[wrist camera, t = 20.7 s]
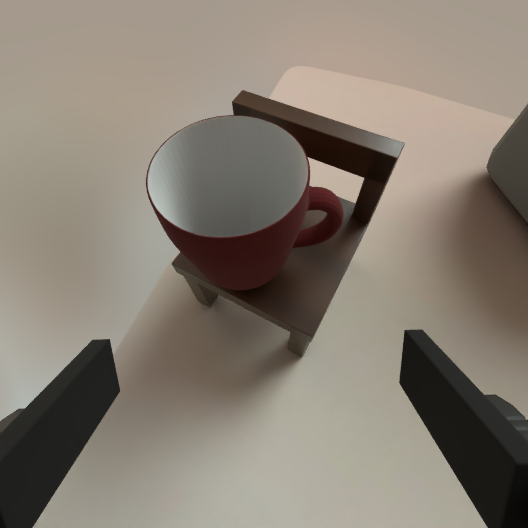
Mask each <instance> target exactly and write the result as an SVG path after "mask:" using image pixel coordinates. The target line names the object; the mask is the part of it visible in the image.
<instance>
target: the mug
mask: <svg viewBox="0 0 528 528" xmlns="http://www.w3.org/2000/svg"><path fill="white" fill-rule="evenodd" d="M309 182H310V166H309V161H308V158H307V155H306V153H305V150H304V149H303V147H302V146H301V144H300V143H299V142H298V140H297V139H296V138H295V137H294V136H293V135H292V134H290V133H289V132H288V131H286V130H285V129H284V128H282V127H280V126H278V125H276V124H274V123H272V122H269V121H267V120H264V119H260V118H256V117H250V116H241V115H228V116H218V117H213V118H208V119H205V120H201V121H199V122H196V123H193V124H191V125H189V126H187V127H185V128H183V129H181V130H180V131H178V132H177V133H175V134H174V135H172V136H171V137H170V138H169V139H167V140H166V141H165V142H164V143H163V144H162V145H161V147H160V148H159V149H158V150H157V152H156V153H155V155H154V156H153V158H152V160H151V162H150V165H149V168H148V171H147V177H146V187H147V193H148V197H149V200H150V202H151V204H152V206H153V209H154V211H155V213H156V215H157V217H158V219H159V221H160V223H161V225H162V227H163V228H164V230H165V232H166V233H167V235H168V237H169V238H170V240H171V241H172V242H173V244H174V245H175V246H176V247H177V248H178V249H179V251H180V252H181V253H182V254H183V255H184V256H185V257H186V258H187V259H188V260H189V261H190V262H191V263H192V264H193V265H194V266H195V267H196V268H197V269H198V270H199V271H200V272H201V273H202V274H203V275H204V276H205V277H207V278H208V279H209V280H210V281H212V282H213V283H215V284H217V285H219V286H221V287H224V288H228V289H232V290H248V289H253V288H256V287H259V286H261V285H263V284H265V283H267V282H268V281H270V280H271V279H272V278H274V277H275V276H276V275H277V274H278V272H279V271H280V270H281V269H282V267H283V266H284V264H285V262H286V260H287V258H288V256H289V254H290V251H291V249H292V248H298V247H306V246H312V245H316V244H319V243H322V242H324V241H326V240H328V239H330V238H331V237H332V236H333V235H334V234H335V233H336V232H337V231H338V230H339V228H340V227H341V225H342V222H343V216H344V212H343V207H342V204H341V202H340V200H339V199H338V197H337V196H336V195H335V194H334V193H333V192H332V191H330V190H328V189H325V188H322V187H309ZM311 210H321V211H324V212H326V213H327V215H326V217H325V218H324V219H323V220H322V221H321V222H319V223H318V224H316V225H314V226H312V227H309V228H306V229H303V230H300V229H301V226H302V224H303V221H304V218H305V215H306V212H307V211H311Z"/></svg>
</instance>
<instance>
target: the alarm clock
mask: <svg viewBox="0 0 528 528" xmlns="http://www.w3.org/2000/svg"><path fill="white" fill-rule="evenodd" d="M487 169H488V172H489V175H490V177H491V178H492V180H493V181H494V183H495V184H496V185H497V186H498V188H499V189H500V190H501V191H502V192H503V194H504V195H505V196H506V197H507V199H508V200H509V201H510V202H511V204H512V205H513V206H514V207H515V208H516V210H517V211H518V212H519V213H520V215H521V216H522V217H523V218H524V219H525V221H526V222H527V223H528V104H527V106H526V107H525V109H524V110H523V111H522V112H521V114H520V115H519V116H518V118H517V119H516V120H515V121H514V123H513V124H512V125H511V127H510V128H509V129H508V131H507V132H506V133H505V134H504V136H503V137H502V138H501V140H500V141H499V142H498V144H497V145H496V146H495V148H494V149H493V151H492V153H491V156H490V158H489V161H488V164H487Z"/></svg>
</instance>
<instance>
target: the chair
mask: <svg viewBox="0 0 528 528" xmlns="http://www.w3.org/2000/svg"><path fill="white" fill-rule="evenodd" d="M232 105H233V113H234V115H241V116H250V117H256V118H260V119H264V120H267V121H269V122H272V123H274V124H276V125H278V126H280V127H282V128H284V129H285V130H286V131H288V132H289V133H290V134H292V135H293V136H294V137H295V138H296V139H297V140H298V142H299V143H300V144H301V146H302V147H303V149H304V150H305V153H306V155H307V157H309V158H312V159H315V160H317V161H320V162H323V163H325V164H328V165H331V166H334V167H336V168H339V169H342V170H344V171H347V172H350V173H353V174H355V175H358V176H361V177H363V178H364V181H363V184H362V187H361V190H360V193H359V196H358V198H357V201H356V204H355V203H352V202H350V201H347V200H345V199H342V198H340V197H338V199H339V200H340V202H341V204H342V207H343V212H344V216H343V222H342V225H341V227H340V228H339V230H338V231H337V232H336V233H335V234H334V235H333V236H332V237H331V238H330V239H328V240H326V241H324V242H322V243H319V244H316V245H312V246H306V247H298V248H292V249H291V251H290V254H289V256H288V258H287V260H286V262H285V264H284V266H283V267H282V269H281V270H280V271H279V272H278V274H277V275H276V276H275V277H274V278H272V279H271V280H270V281H268V282H267V283H265V284H263V285H261V286H259V287H256V288H253V289H248V290H232V289H228V288H224V287H221V286H219V285H217V284H215V283H213V282H212V281H210V280H209V279H208V278H207V277H205V276H204V275H203V274H202V273H201V272H200V271H199V270H198V269H197V268H196V267H195V266H194V265H193V264H192V263H191V262H190V261H189V260H188V259H187V258H186V257H185V256H184V255H183V254H182V253H181V252H180V253H179V254H178V256H177V257H176V258H175V260H174V261H173V262H172V265H173V267H174V269H175V270H176V272H177V273H179V274H181V275H183V276H184V277H185V279H186V281H187V282H188V284H189V286H190V288H191V289H192V291H193V293H194V295H195V296H196V298H197V300H198V301H200V302H202V303H204V304H205V305H207V306H209V307H210V306H211V305H212V303H213V302H214V300H215V299H216V297H217V296H218V294H219V295H221V296H223V297H225V298H227V299H228V300H230V301H232V302H234V303H236V304H238V305H240V306H242V307H244V308H246V309H247V310H249V311H251V312H253V313H255V314H257V315H259V316H261V317H263V318H265V319H266V320H268V321H270V322H272V323H274V324H276V325H278V326H280V327H282V328H284V329H285V330H287V331H289V332H290V337H289V344H288V350H290V351H292V352H294V353H296V354H297V355H299V356H301V357H303V355H304V353H305V351H306V349H307V347H308V345H309V343H310V342H311V341H312V339H313V337H314V335H315V333H316V331H317V329H318V327H319V325H320V323H321V321H322V319H323V317H324V315H325V313H326V311H327V309H328V307H329V305H330V303H331V300H332V298H333V296H334V294H335V292H336V290H337V288H338V286H339V284H340V282H341V280H342V278H343V276H344V274H345V272H346V270H347V268H348V266H349V264H350V262H351V260H352V258H353V256H354V254H355V251H356V249H357V247H358V245H359V243H360V241H361V239H362V237H363V235H364V233H365V231H366V229H367V227H368V225H369V223H370V221H371V219H372V216H373V214H374V212H375V210H376V207H377V205H378V203H379V201H380V198H381V196H382V194H383V192H384V189H385V187H386V185H387V183H388V180H389V178H390V176H391V174H392V171H393V169H394V167H395V165H396V162H397V160H398V158H399V156H400V153H401V151H402V149H403V147H404V143H402V142H399V141H396V140H393V139H390V138H387V137H384V136H381V135H378V134H375V133H372V132H368V131H365V130H362V129H359V128H356V127H353V126H350V125H347V124H344V123H341V122H338V121H335V120H332V119H329V118H326V117H323V116H320V115H317V114H314V113H311V112H308V111H305V110H302V109H298V108H295V107H292V106H289V105H286V104H283V103H280V102H277V101H274V100H271V99H268V98H265V97H262V96H259V95H256V94H253V93H250V92H247V91H241V92H240V93H239V95H238V96H237V97H236V98H235V99H234V100H233V101H232ZM309 187H312V186H309ZM326 215H327V213H326V212H324V211H321V210H311V211H307V212H306V215H305V218H304V221H303V224H302V226H301V229H300V230H303V229H306V228H309V227H312V226H314V225H316V224H318V223H319V222H321V221H322V220H323V219H324V218H325V217H326Z"/></svg>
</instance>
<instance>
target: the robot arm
mask: <svg viewBox="0 0 528 528" xmlns="http://www.w3.org/2000/svg"><path fill="white" fill-rule="evenodd" d="M399 383H400V385H401V387H402V388H403V390H404V391H405V393H406V395H407V396H408V398H409V400H410V401H411V403H412V405H413V406H414V408H415V409H416V411H417V413H418V414H419V416H420V418H421V419H422V421H423V423H424V424H425V426H426V427H427V429H428V431H429V432H430V434H431V436H432V437H433V439H434V441H435V442H436V444H437V445H438V447H439V449H440V450H441V452H442V454H443V455H444V457H445V458H446V460H447V462H448V463H449V465H450V467H451V468H452V470H453V472H454V473H455V475H456V476H457V478H458V480H459V481H460V483H461V485H462V486H463V488H464V490H465V491H466V493H467V494H468V496H469V498H470V499H471V501H472V503H473V504H474V506H475V508H476V509H477V511H478V512H479V514H480V516H481V517H482V519H483V521H484V522H485V524H486V526H487V527H488V528H528V420H526V419H525V417H524V416H523V415H522V414H521V413H520V412H519V411H518V410H517V409H516V408H515V407H514V406H513V405H511V404H510V403H508V402H507V401H505V400H503V399H502V398H500V397H498V396H497V395H484V394H483V393H482V392H481V391H480V390H479V389H478V388H477V387H476V386H475V385H474V384H473V383H472V382H471V381H470V379H469V378H468V377H467V376H466V375H465V374H464V373H463V372H462V371H461V370H460V369H459V368H458V367H457V366H456V365H455V364H454V363H453V362H452V361H451V359H450V358H449V357H448V356H447V355H446V354H445V353H444V352H443V351H442V350H441V349H440V348H439V347H438V346H437V345H436V344H435V343H434V342H433V340H432V339H431V338H430V337H429V336H428V335H427V334H426V333H425V332H424V331H423V330H405V332H404V342H403V352H402V361H401V371H400V381H399ZM119 392H120V388H119V383H118V378H117V373H116V368H115V363H114V358H113V353H112V348H111V343H110V339H105V340H104V339H103V340H92V341H91V342H90V343H89V344H88V345H87V346H86V347H85V348H84V349H83V350H82V351H81V352H80V353H79V354H78V355H77V356H76V357H75V358H74V359H73V360H72V361H71V362H70V364H68V365H67V366H66V367H65V368H64V370H62V372H61V373H60V374H59V375H58V376H57V377H56V378H55V379H54V380H53V381H52V382H51V383H50V384H49V385H48V386H47V387H46V388H45V389H44V390H43V391H42V392H41V393H40V394H39V395H38V396H37V397H36V398H35V399H34V400H33V401H32V402H31V403H30V404H29V405H28V406H27V407H26V408H25V409H18V410H16V411H15V412H13V413H12V414H10V415H9V416H7V417H6V418H4V419H3V420H1V421H0V528H32V527H33V526H34V524H35V523H36V521H37V520H38V518H39V516H40V515H41V513H42V512H43V510H44V509H45V507H46V506H47V504H48V502H49V501H50V499H51V498H52V496H53V495H54V493H55V492H56V490H57V488H58V487H59V485H60V484H61V482H62V481H63V479H64V478H65V476H66V474H67V473H68V471H69V470H70V468H71V467H72V465H73V464H74V462H75V460H76V459H77V457H78V456H79V454H80V453H81V451H82V450H83V448H84V446H85V445H86V443H87V442H88V440H89V439H90V437H91V436H92V434H93V432H94V431H95V429H96V428H97V426H98V425H99V423H100V421H101V420H102V418H103V417H104V415H105V414H106V412H107V411H108V409H109V407H110V406H111V404H112V403H113V401H114V400H115V398H116V397H117V395H118V393H119Z"/></svg>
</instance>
